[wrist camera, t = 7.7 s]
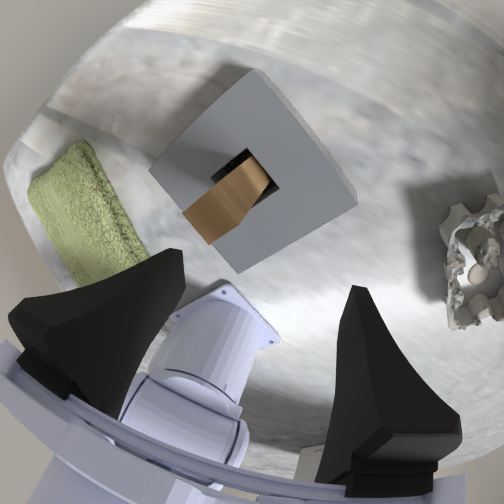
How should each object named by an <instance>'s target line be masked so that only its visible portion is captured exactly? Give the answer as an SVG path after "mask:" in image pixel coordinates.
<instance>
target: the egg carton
mask: <svg viewBox="0 0 504 504" xmlns="http://www.w3.org/2000/svg"><path fill="white" fill-rule="evenodd" d="M503 213H504V200H503V199H502V198H501V197H500V196H499V195H498V194H497V193H493V194H490V195H487V199H486V204H485V206H484V208H483V209H482V210H481V211H480V212H478V213H476V214H471V213H470V212H469V211H468V210H467V209H466V208H465V206H464V205H463V204H462V203H459V204H455V205H452V206H451V207H450V214H449V216H448V218H447V219H446V220H445V221H444V222H443V223H441V224H439V231H440V236H441V237H442V239H443V241H444V242H445V244H446V246H447V247H448V252H447V261H445V262H444V263H443V266H444V273H445V275H446V277H447V279H448V281H449V282H448V294H446V296H445V301H446V305H447V318H448V327H449V328H450V329H451V330H452V331H453V330H457V329H463V330H465V329H466V327H467V326H469V325H477V326H479V325H481V321H480V319H483V318H486V317H488V316H492V318H493V319H494V320H496V321H504V285H503V286H502V287H501V288H500V289H499V291H498V293H497V295H496V297H494V298H491V299H488V297H487V295H486V294H484V293H478V294H476V295H474V296H473V297H472V298H471V299H470V300H469V302H468V304H467V306H466V307H463V308H458V307H459V306H462V302H463V300H464V295H465V294H464V292H463V290H462V288H461V286H460V284H459V282H458V280H457V276H458V275H461V274H463V273H464V271H463V267H466V265H465V263H466V260H465V257H464V255H462V254H461V252H460V251H459V249H458V248H457V247H458V243H457V241H456V240H455V232H456V231H458V230H459V229H464V228H471V227H473V226H474V224H476V225H477V226H476V227H474V228H473V229H472V230H471V231H470V232H469V234H468V236H467V239H466V244H467V247H468V249H469V250H470V252H471V254H472V255H473V257H474V258H475V260H476V261H477V264H475V265H474V266H473V267H472V268H471V270H470V271H469V274H468V280H469V282H470V283H471V284H473V285H478V284H481V283H482V282H484V280H486V278H487V277H488V274H489V269H491V268H493V269H497V268H499V270H500V272H501V274H502V275H503V277H504V256H503V258H502V259H501V258H500V248H499V242H498V241H497V240H496V238H495V237H494V236H493V235H492V234H491V233H490V232H489V230H488V229H489V228H493V227H494V222H495V221H498V220H499V217H500V215H501V214H503ZM499 233H500V237H501V239H502V240H503V242H504V220H503V222H502V224H501V225H500V230H499Z"/></svg>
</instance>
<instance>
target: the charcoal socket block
mask: <svg viewBox="0 0 504 504" xmlns="http://www.w3.org/2000/svg"><path fill="white" fill-rule="evenodd" d="M247 148H248V149H249V151H250V152H251V153H252V154H253V156H254V157H255V158H256V159H257V160H258V162H259V163H260V164H261V165H262V167H263V168H264V169H265V170H266V171H267V173H268V174H269V175H270V176H271V178H272V179H273V180H274V181H275V183H276V185H274V186H273V187H272V188H270V189H269V190H267V191H266V192H265V193H263V194H262V195H260V196H259V197H258V199H257V200H256V202H255V203H254V204H253V206H252V207H251V209H250V210H249V211H248V213H247V214H246V216H245V217H244V219H243V220H242V221H241V223H240V224H239V225H238V226H237V227H235V228H234V229H232V230H231V231H229V232H228V233H226V234H225V235H223V236H222V237H220V238H219V239H217V240H216V241H214V242H213V243H211V244H212V245H213V246H214V248H215V249H216V250H217V251H218V252H219V253H220V254H221V256H222V257H223V258H224V259H225V260H226V261H227V262H228V263H229V265H230V266H231V267H232V268H233V269H234V270H235V271H236V272H237V274H239V273H241V272H243V271H245V270H246V269H248V268H250V267H252V266H253V265H255V264H257V263H259V262H260V261H262V260H264V259H266V258H267V257H269V256H271V255H272V254H274V253H276V252H278V251H279V250H281V249H283V248H285V247H286V246H288V245H290V244H292V243H293V242H295V241H297V240H298V239H300V238H302V237H304V236H305V235H307V234H309V233H310V232H312V231H314V230H316V229H317V228H319V227H321V226H322V225H324V224H326V223H328V222H329V221H331V220H333V219H334V218H336V217H338V216H339V215H341V214H343V213H345V212H346V211H348V210H350V209H351V208H353V207H355V206H356V205H358V200H357V195H356V191H355V189H354V188H353V186H352V185H351V183H350V182H349V180H348V179H347V177H346V176H345V174H344V173H343V171H342V170H341V168H340V167H339V166H338V164H337V163H336V161H335V160H334V159H333V157H332V156H331V154H330V153H329V152H328V150H327V149H326V148H325V146H324V145H323V143H322V142H321V141H320V139H319V138H318V137H317V136H316V134H315V133H314V132H313V130H312V129H311V128H310V126H309V125H308V124H307V123H306V121H305V120H304V119H303V118H302V116H301V115H300V114H299V113H298V111H297V110H296V109H295V108H294V107H293V105H292V104H291V103H290V102H289V101H288V99H287V98H286V97H285V96H284V95H283V94H282V92H281V91H280V90H279V89H278V88H277V87H276V86H275V84H274V83H273V82H272V81H271V80H270V79H269V78H268V77H267V75H266V74H265V73H264V72H262V71H259V70H255V69H252V70H251V71H249V72H248V73H247V74H246V75H245V76H243V77H242V78H241V79H240V80H239V81H238V82H236V83H235V84H234V85H233V86H232V87H231V88H229V89H228V90H227V91H226V92H225V93H224V94H223V95H222V96H220V97H219V98H218V99H217V100H216V101H215V102H214V103H213V104H212V105H211V106H210V107H209V108H207V109H206V110H205V111H204V112H203V113H202V114H201V115H200V116H199V117H198V118H197V119H196V120H195V121H194V122H193V123H192V124H191V125H190V126H189V127H188V128H187V129H186V130H185V131H184V132H183V133H182V134H181V135H180V136H179V137H178V138H177V139H176V140H175V141H174V142H173V143H172V144H171V146H170V147H169V148H168V149H167V150H166V151H165V152H164V153H163V154H162V155H161V156H160V157H159V159H158V160H157V161H156V162H155V163H154V164H153V165H152V166H151V168H150V169H149V170H148V171H149V172H150V173H151V174H152V176H153V177H154V178H155V179H156V180H157V181H158V183H159V184H160V185H161V186H162V187H163V189H164V190H165V191H166V192H167V193H168V194H169V196H170V197H171V198H172V199H173V200H174V201H175V203H176V204H177V205H178V206H179V207H180V208H181V210H182V211H183V212H184V211H185V210H186V209H187V208H188V207H190V206H191V205H192V204H193V203H194V202H195V201H197V200H198V199H199V198H200V197H201V196H202V195H204V194H205V193H206V192H207V191H208V190H209V189H211V188H212V187H213V186H214V185H215V184H217V183H218V182H219V181H220V180H221V179H223V178H224V177H225V176H226V175H228V174H229V173H228V172H227V171H226V169H225V168H224V167H225V166H226V165H227V164H229V163H230V162H231V161H232V160H233V159H235V158H236V157H237V156H238V155H240V154H241V153H242V152H243V151H245V150H246V149H247Z"/></svg>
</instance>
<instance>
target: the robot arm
mask: <svg viewBox="0 0 504 504" xmlns="http://www.w3.org/2000/svg"><path fill="white" fill-rule="evenodd" d="M185 288H186V285H185V275H184V265H183V253H182V250H178V249H173V248H169V249H166V250H164V251H162V252H160V253H158V254H156V255H154V256H152V257H150V258H148V259H146V260H144V261H142V262H140V263H138V264H136V265H134V266H132V267H130V268H128V269H126V270H124V271H121V272H119V273H117V274H115V275H113V276H111V277H108V278H106V279H104V280H101V281H98V282H96V283H93V284H90V285H87V286H84V287H80V288H77V289H74V290H70V291H66V292H62V293H57V294H52V295H46V296H38V297H31V298H24V299H23V300H22V301H21V302H20V303H19V304H18V305H17V306H16V307H15V308H14V309H13V310H12V311H11V312H10V313H9V314H8V320H9V323H10V325H11V327H12V329H13V331H14V332H15V334H16V336H17V337H18V339H19V340H20V342H21V343H22V345H23V346H24V348H25V350H24V352H23V353H21V352H20V351H19V350H18V349H17V348H16V347H15V346H14V345H13V344H11V343H10V342H9V341H8V340H7V339H5V340H4V341H3V342H2V343H1V344H0V402H1V403H2V404H3V405H4V406H5V407H6V408H7V409H8V410H9V411H10V412H11V413H12V415H13V416H14V417H15V418H17V420H18V421H20V422H21V423H22V424H23V425H24V426H25V427H26V428H27V429H28V430H29V431H30V432H31V433H32V434H34V435H35V436H36V437H37V438H38V439H39V440H40V441H41V442H43V443H44V444H45V445H46V446H47V447H49V448H50V449H51V450H52V451H53V452H54V454H55V455H54V457H53V458H52V460H51V462H50V463H49V465H48V467H47V468H46V470H45V471H44V473H43V475H42V477H41V478H40V480H39V482H38V484H37V485H36V487H35V488H34V490H33V492H32V493H31V495H30V497H29V499H28V501H27V502H26V504H466V475H465V474H460V475H454V476H447V477H441V478H437V479H434V480H433V472H436V471H437V470H438V461H439V460H441V459H442V458H444V457H445V456H447V455H449V454H450V453H452V452H453V451H454V450H455V449H457V448H458V447H459V445H460V444H461V443H462V428H461V420H460V415H459V414H458V413H457V412H455V411H454V410H453V409H452V408H451V407H450V406H449V405H447V404H446V403H445V402H444V401H443V400H442V399H441V398H440V397H439V396H438V395H437V394H436V393H435V392H434V391H433V390H432V389H431V388H430V387H429V386H428V385H427V384H426V383H425V382H424V380H423V379H422V378H421V377H420V376H419V374H418V373H417V372H416V371H415V370H414V368H413V367H412V366H411V364H410V363H409V362H408V360H407V359H406V357H405V356H404V355H403V353H402V352H401V350H400V349H399V347H398V346H397V344H396V342H395V341H394V339H393V337H392V336H391V334H390V332H389V330H388V329H387V327H386V325H385V323H384V321H383V319H382V317H381V315H380V313H379V311H378V309H377V307H376V305H375V303H374V301H373V299H372V297H371V295H370V293H369V291H368V289H367V288H366V287H361V286H356V285H352V287H351V290H350V293H349V296H348V299H347V302H346V305H345V308H344V311H343V314H342V317H341V319H340V324H339V331H338V339H337V359H336V386H335V397H334V403H333V409H332V415H331V420H330V424H329V429H328V434H327V438H326V442H325V446H324V450H323V454H322V457H321V461H320V464H319V468H318V471H317V474H316V477H315V480H314V482H306V481H299V480H293V479H287V478H282V477H276V476H271V475H267V474H262V473H258V472H253V471H249V470H245V469H241V468H239V466H240V464H241V462H242V460H243V458H244V455H245V453H246V450H247V446H248V442H249V430H248V428H247V424H246V422H245V421H244V420H241V419H239V417H240V415H241V412H242V409H243V408H242V407H240V406H238V404H239V401H240V398H241V395H242V393H243V390H244V387H245V384H246V382H247V379H248V376H249V373H250V370H251V367H252V365H253V362H254V359H255V356H256V353H257V350H260V349H263V348H266V347H269V346H272V345H275V344H278V343H280V341H281V337H280V336H279V335H278V334H277V333H276V332H275V331H274V330H273V328H272V327H271V326H270V325H269V324H268V323H267V322H266V321H265V320H264V319H263V318H262V317H261V316H260V315H259V314H258V313H257V312H256V310H255V309H254V308H253V307H252V306H251V305H250V304H249V303H248V302H247V301H246V300H245V299H244V298H243V297H242V295H241V294H240V293H239V292H238V291H237V290H236V289H235V288H234V287H233V286H232V285H231V284H228V283H226V284H224V285H222V286H220V287H218V288H217V289H215V290H213V291H211V292H210V293H208V294H206V295H204V296H202V297H201V298H199V299H197V300H195V301H193V302H192V303H190V304H188V305H186V306H184V307H183V308H181V309H179V310H177V311H175V312H174V313H172V312H173V310H174V309H175V307H176V306H177V304H178V302H179V300H180V298H181V296H182V294H183V292H184V290H185ZM223 290H224V291H226V292H224V291H223ZM171 313H172V314H171ZM168 318H170V320H171V321H172V322H173V323H174V326H173V327H172V329H171V330H170V332H169V333H168V335H167V336H166V338H165V339H164V341H163V343H162V344H161V346H160V347H159V349H158V350H157V352H156V354H155V355H154V357H153V358H152V360H151V362H150V364H149V369H148V374H147V373H145V372H140V373H138V374H136V371H137V369H138V367H139V365H140V363H141V361H142V359H143V357H144V355H145V353H146V351H147V349H148V348H149V346H150V344H151V343H152V341H153V340H154V338H155V337H156V335H157V334H158V332H159V331H160V329H161V328H162V326H163V325H164V324H165V322H166V321H167V319H168ZM271 340H272V341H271ZM96 430H97V431H96ZM99 432H100V433H99ZM101 433H102V434H101ZM223 486H227V487H230V488H234V489H238V490H242V491H246V492H250V493H255V494H259V495H263V496H258V497H257V499H256V501H255V502H253V501H250V500H246V499H242V498H239V497H236V496H232V495H230V494H226V493H223V492H220V490H221V489H222V487H223Z"/></svg>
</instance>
